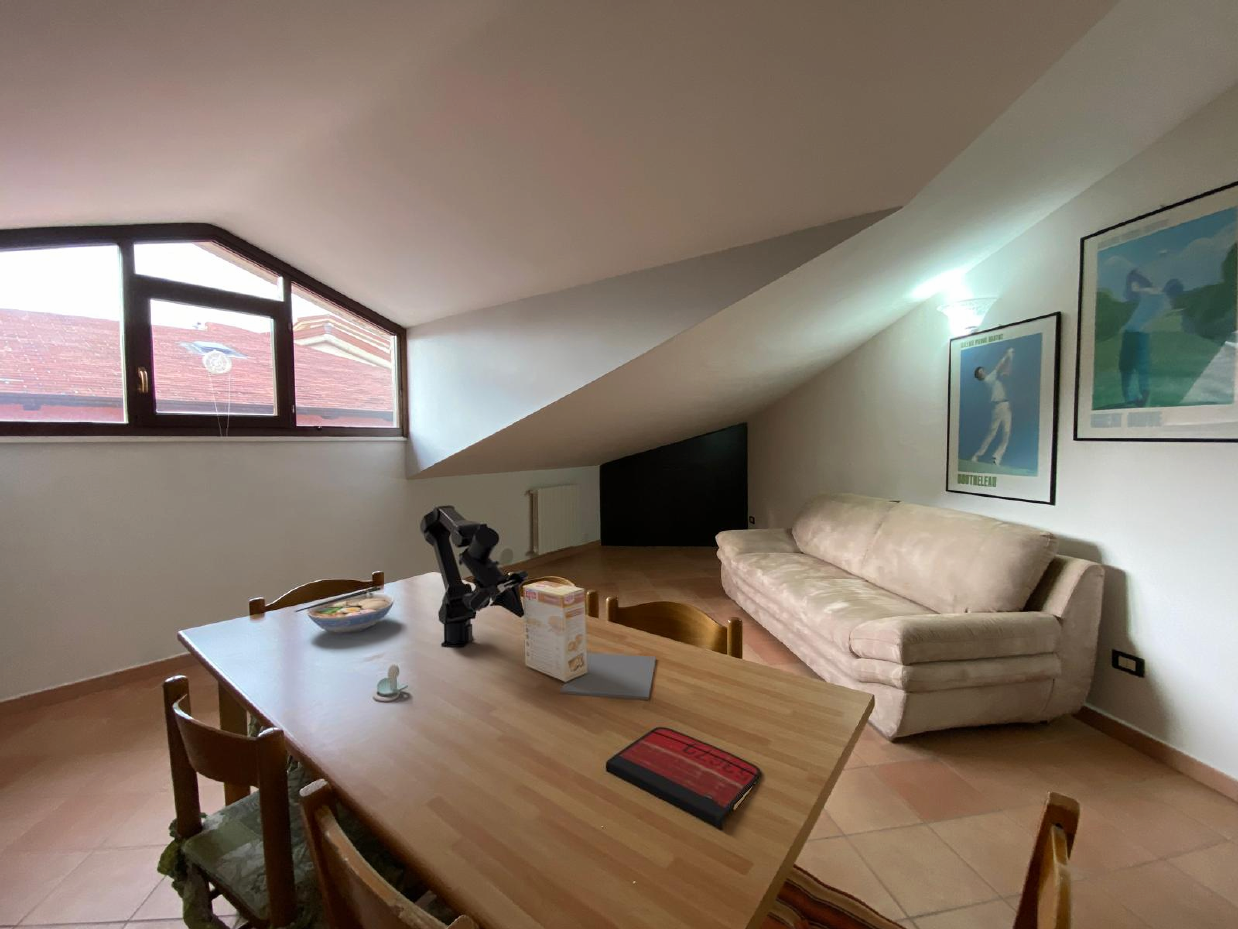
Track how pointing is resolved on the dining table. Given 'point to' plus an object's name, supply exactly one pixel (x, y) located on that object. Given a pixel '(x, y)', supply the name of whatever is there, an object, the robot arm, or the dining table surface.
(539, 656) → the coffeecake box
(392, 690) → the pacifier
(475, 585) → the robot arm
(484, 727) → the dining table surface
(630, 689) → the mat
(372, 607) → the ramen bowl
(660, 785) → the binder
